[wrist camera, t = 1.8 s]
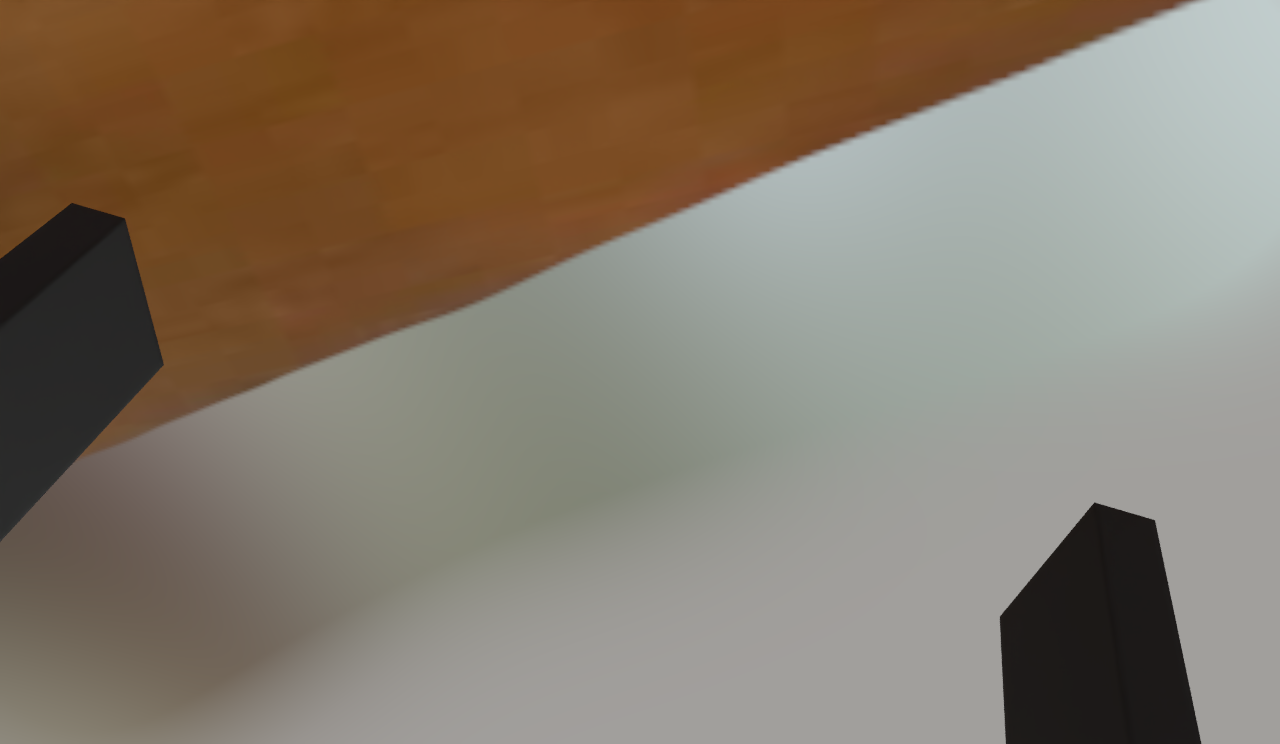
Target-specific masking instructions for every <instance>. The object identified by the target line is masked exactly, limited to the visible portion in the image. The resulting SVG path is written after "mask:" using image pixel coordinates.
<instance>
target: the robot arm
mask: <svg viewBox="0 0 1280 744" xmlns="http://www.w3.org/2000/svg"><path fill="white" fill-rule="evenodd" d="M163 365H164V364H163V360H162V356H161V352H160V349H159V345H158V341H157V337H156V334H155V330H154V326H153V322H152V319H151V315H150V311H149V307H148V304H147V300H146V296H145V292H144V288H143V285H142V281H141V277H140V273H139V270H138V266H137V262H136V258H135V255H134V251H133V247H132V243H131V240H130V236H129V232H128V228H127V225H126V221H125V218H121V217H118V216H114V215H111V214H108V213H104V212H101V211H97V210H94V209H90V208H87V207H84V206H80V205H77V204H73V203H71V204H70V205H69V206H67V207H66V208H65V209H64V210H62V211H61V212H60V213H59V214H57V215H56V216H55V217H53V218H52V219H51V220H50V221H48V222H47V223H46V224H45V225H43V226H42V227H41V228H39V229H38V230H37V231H36V232H34V233H33V234H32V235H30V236H29V237H28V238H27V239H25V240H24V241H23V242H22V243H20V244H19V245H18V246H16V247H15V248H14V249H13V250H11V251H10V252H9V253H8V254H6V255H5V256H4V257H2V258H1V259H0V541H1V540H2V539H3V538H4V537H5V536H6V535H7V534H8V533H9V532H10V531H11V529H12V528H13V527H14V526H15V525H16V524H17V523H18V522H19V521H20V520H21V518H22V517H23V516H24V515H25V514H26V513H27V512H28V511H29V510H30V509H31V508H32V507H33V506H34V504H35V503H36V502H37V501H38V500H39V499H40V498H41V497H42V496H43V495H44V494H45V493H46V491H47V490H48V489H49V488H50V487H51V486H52V485H53V484H54V483H55V482H56V481H57V479H59V477H60V476H61V475H62V474H63V473H64V472H65V471H66V470H67V469H68V467H70V466H71V465H72V463H73V462H74V461H75V460H76V459H77V458H78V457H79V456H80V455H81V454H82V453H83V452H84V450H85V449H86V448H87V447H88V446H89V445H90V444H91V443H92V442H93V441H94V440H95V439H96V437H97V436H98V435H99V434H100V433H101V432H102V431H103V430H104V429H105V428H106V427H107V426H108V424H109V423H110V422H111V421H112V420H113V419H114V418H115V417H116V416H117V415H118V414H119V413H120V411H121V410H122V409H123V408H124V407H125V406H126V405H127V404H128V403H129V402H130V401H131V400H132V398H133V397H134V396H135V395H136V394H137V393H138V392H139V391H140V390H141V389H142V388H143V387H144V386H145V384H146V383H147V382H148V381H149V380H150V379H151V378H152V377H153V376H154V375H155V374H156V373H157V371H158V370H159V369H160V368H161V367H162V366H163ZM1000 630H1001V651H1002V672H1003V692H1004V713H1005V731H1006V732H1005V734H1006V744H1201V741H1200V735H1199V731H1198V726H1197V721H1196V716H1195V711H1194V706H1193V701H1192V697H1191V692H1190V687H1189V682H1188V678H1187V673H1186V668H1185V663H1184V658H1183V653H1182V649H1181V644H1180V639H1179V634H1178V630H1177V624H1176V620H1175V615H1174V610H1173V605H1172V600H1171V596H1170V591H1169V586H1168V581H1167V576H1166V572H1165V567H1164V562H1163V557H1162V552H1161V547H1160V543H1159V538H1158V533H1157V528H1156V523H1155V520H1152V519H1149V518H1145V517H1142V516H1139V515H1135V514H1131V513H1128V512H1125V511H1122V510H1118V509H1115V508H1111V507H1108V506H1104V505H1101V504H1097V503H1094V504H1093V505H1092V506H1091V507H1090V509H1089V510H1088V511H1087V512H1086V513H1085V515H1084V516H1083V517H1082V518H1081V519H1080V521H1079V522H1078V523H1077V524H1076V526H1075V527H1074V528H1073V529H1072V530H1071V532H1070V533H1069V534H1068V535H1067V536H1066V538H1065V539H1064V540H1063V541H1062V542H1061V544H1060V545H1059V546H1058V547H1057V548H1056V550H1055V551H1054V552H1053V553H1052V554H1051V556H1050V557H1049V558H1048V559H1047V561H1046V562H1045V563H1044V564H1043V565H1042V567H1041V568H1040V569H1039V570H1038V571H1037V573H1036V574H1035V575H1034V576H1033V577H1032V579H1031V580H1030V581H1029V582H1028V583H1027V585H1026V586H1025V587H1024V588H1023V590H1022V591H1021V592H1020V593H1019V594H1018V596H1017V597H1016V598H1015V599H1014V600H1013V602H1012V603H1011V604H1010V605H1009V607H1008V608H1007V609H1006V610H1005V611H1004V612H1003V614H1002V615H1001V616H1000Z"/></svg>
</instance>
